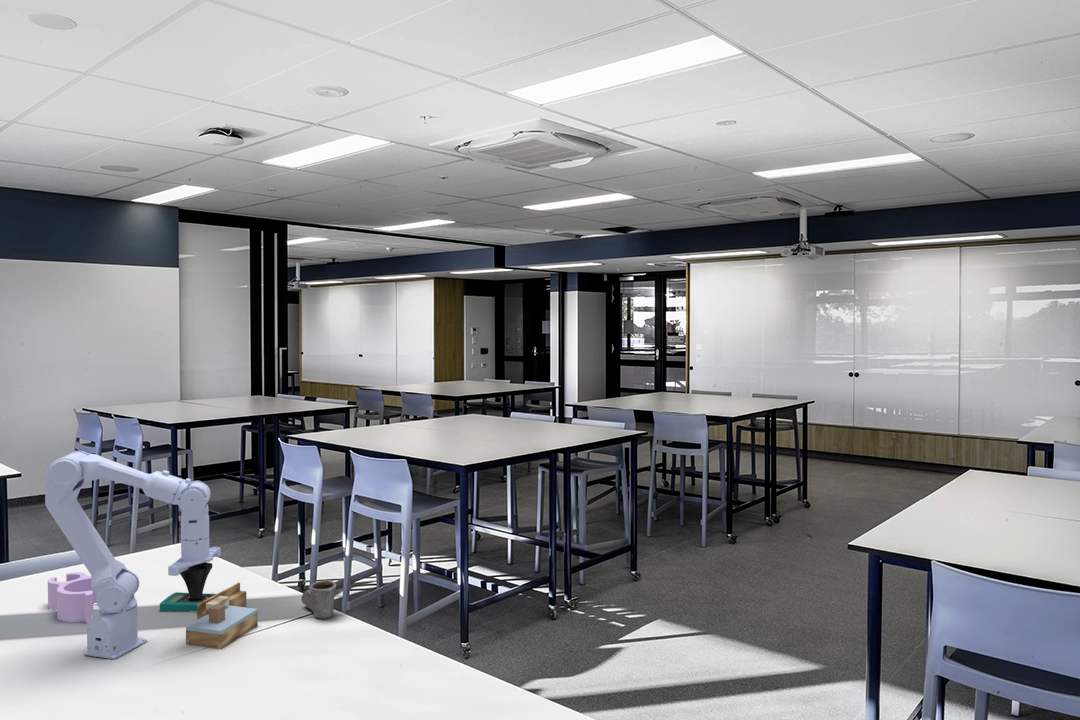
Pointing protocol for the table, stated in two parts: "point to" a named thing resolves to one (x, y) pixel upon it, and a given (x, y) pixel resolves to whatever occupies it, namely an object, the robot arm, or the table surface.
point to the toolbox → (229, 636)
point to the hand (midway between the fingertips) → (195, 597)
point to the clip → (72, 597)
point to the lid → (221, 619)
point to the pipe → (320, 598)
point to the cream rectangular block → (218, 602)
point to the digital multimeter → (182, 602)
